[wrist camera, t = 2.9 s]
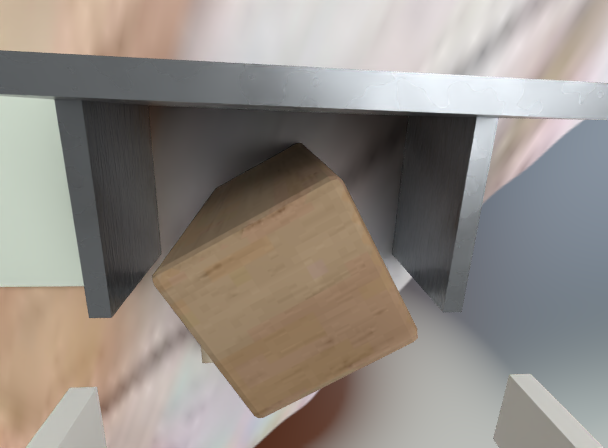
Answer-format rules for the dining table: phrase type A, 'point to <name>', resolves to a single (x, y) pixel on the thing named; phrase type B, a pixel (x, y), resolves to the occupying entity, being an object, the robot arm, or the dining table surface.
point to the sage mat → (34, 198)
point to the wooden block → (284, 283)
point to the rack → (278, 97)
